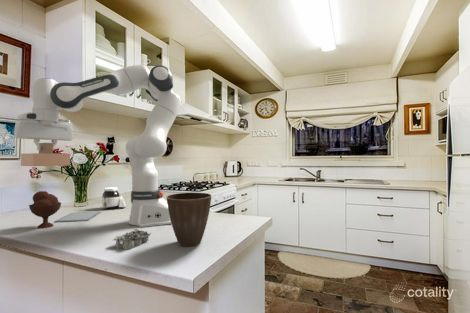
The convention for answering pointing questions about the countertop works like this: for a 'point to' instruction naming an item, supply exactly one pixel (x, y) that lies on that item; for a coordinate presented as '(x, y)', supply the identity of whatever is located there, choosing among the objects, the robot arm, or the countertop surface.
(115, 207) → the spread jar
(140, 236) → the egg carton
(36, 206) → the ice cream bowl
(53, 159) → the cover
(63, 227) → the countertop surface
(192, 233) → the plant pot
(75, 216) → the mat
